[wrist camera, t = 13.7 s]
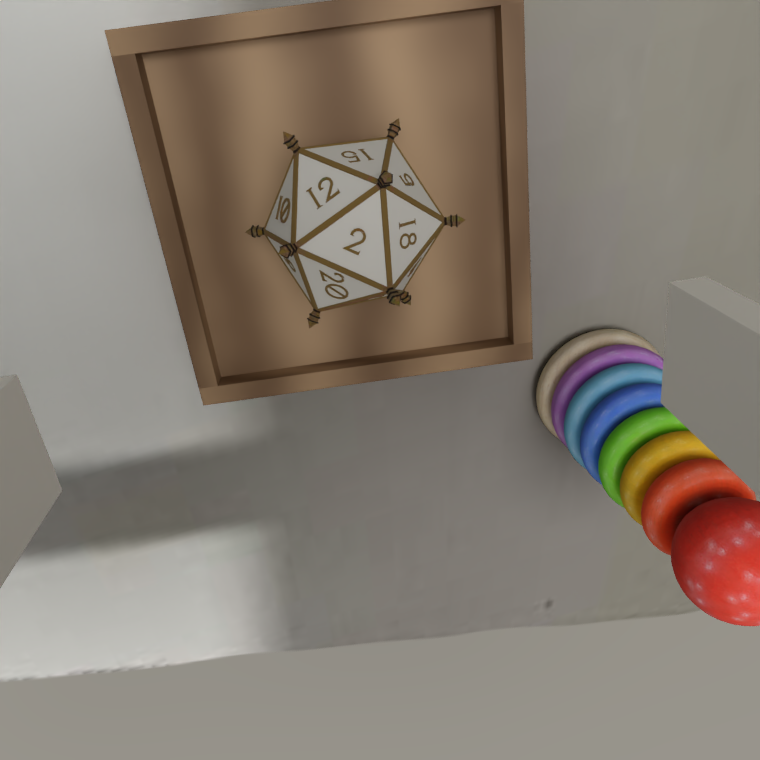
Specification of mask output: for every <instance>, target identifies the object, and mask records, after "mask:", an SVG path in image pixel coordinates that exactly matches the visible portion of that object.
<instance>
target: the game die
mask: <svg viewBox="0 0 760 760" xmlns="http://www.w3.org/2000/svg"><path fill="white" fill-rule="evenodd" d="M389 125H390V126H389V129H387V131H388V135H387V136H386V137H381V138H373V139H365V140H357V141H349V142H340V143H332V144H324V145H316V146H308V147H299V145H298V140H296V139H295V135H291V134H289V133H286V132H284V131H283V136H284V143H283V144H286V146H287V149H290V150H292V151H293V156H292V158H291V161H290V163H289V166H288V168H287V171H286V174H285V176H284V179H283V181H282V184H281V186H280V189H279V191H278V194H277V196H276V199H275V201H274V204H273V206H272V209H271V211H270V214H269V216H268V219H267V221H266V224H265V226H264V227H259V225H257V226H254V225H252V227H251V228H250V229H249V230H247V231H246V232H245V233H247V234H249V235H251V236H252V237H254V238H256V237H261V236H262V235H265V236H266V238H267V239H268V241H269V243H270V244H271V246H272V247H273V249H274V250H275V252H276V253H277V255H278V256H279V258H280V259H281V261H282V262H283V264H284V265H285V267H286V268H287V270H288V271H289V273H290V274H291V276H292V277H293V279H294V280H295V282H296V283H297V285H298V286H299V288H300V289H301V291H302V292H303V294H304V295H305V297H306V298H307V300H308V301H309V303H310V304H311V306H312V307H313V311H312V312H311V313H309V315H310V316H309V318H307V319H308V324H309V328H311V327H312V326H314V325H315V324H318V320H319V319H320V312H322V311H326V310H331V309H335V308H340V307H344V306H349V305H353V304H358V303H363V302H367V301H372V300H376V299H381V298H385V297H387V299H389V303H390V304H393V305H397V306H399V307H400V301H401V300H402V301H401V302H402V303H404V304H408V305H411V295H409V292H406V291H404V290H405V288H406V287H407V285H408V284H409V282H410V280H411V279H412V277H413V276H414V274H415V272H416V271H417V269H418V268H419V266H420V264H421V263H422V261H423V259H424V258H425V256H426V255H427V253H428V251H429V250H430V248H431V247H432V245H433V243H434V242H435V240H436V239H437V237H438V235H439V234H440V232H441V231H442V229H443V227H444V226H445V225H449V226H451V227H452V226H456V227H458V225H460V224H461V223H462V222H464V221H465V220H466V219H464V218H462V217H460V216H458V215H457V214H456V215H454V216H452V215H450V216H449V217H444V216H443V214H442V213H441V211H440V210H439V208H438V207H437V205H436V204H435V202H434V201H433V199H432V198H431V196H430V195H429V193H428V192H427V190H426V189H425V187H424V185H423V184H422V182H421V181H420V179H419V178H418V176H417V175H416V173H415V172H414V170H413V169H412V167H411V166H410V164H409V163H408V161H407V160H406V158H405V157H404V155H403V153H402V152H401V150H400V149H399V147H398V146H397V144H396V143H395V141H394V138H395V137H396V136H398V135H399V134H398V132H399V130H400V131H401V128H400V122H399V118H398V119H397V120H395V121H394V122H393V123H391V124H389Z"/></svg>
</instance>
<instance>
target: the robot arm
mask: <svg viewBox="0 0 760 760" xmlns="http://www.w3.org/2000/svg"><path fill="white" fill-rule="evenodd" d="M661 404H662V405H663V406H665V407H666V408H667V409H668V410H669V411H670V412H671V413H672V414H673V415H674V416H675V417H676V418H677V419H678V420H679V421H680V422H681V423H682V424H683V425H684V426H685V427H687V428H688V429H689V430H690V431H691V432H692V433H693V434H694V435H695V436H696V437H697V438H698V439H699V440H700V441H701V442H702V443H703V444H704V445H705V446H706V447H708V448H709V449H710V450H711V451H712V452H713V453H714V454H715V455H716V456H717V457H718V458H719V459H720V460H721V461H722V462H723V463H724V464H725V465H726V466H727V467H729V468H730V469H731V470H732V471H733V472H734V473H735V474H736V475H737V476H738V477H739V478H740V479H741V480H742V481H743V482H744V483H745V484H746V485H747V486H748V487H749V488H751V489H752V490H753V491H754V492H755V493H756V494H757V495H758V496H759V497H760V304H759V303H757V302H755V301H753V300H751V299H749V298H747V297H745V296H743V295H741V294H739V293H737V292H735V291H733V290H731V289H729V288H727V287H725V286H723V285H721V284H719V283H718V282H716V281H714V280H712V279H710V278H708V277H700V278H693V279H686V280H679V281H672V282H669V287H668V302H667V316H666V331H665V346H664V360H663V375H662V389H661ZM61 492H62V488H61V485H60V483H59V480H58V478H57V475H56V473H55V470H54V468H53V465H52V463H51V460H50V457H49V455H48V452H47V450H46V447H45V445H44V442H43V440H42V437H41V435H40V432H39V429H38V427H37V424H36V422H35V419H34V417H33V414H32V412H31V409H30V407H29V404H28V401H27V399H26V396H25V394H24V391H23V389H22V386H21V384H20V381H19V378H18V376H17V375H10V376H3V377H0V588H1V586H2V585H3V583H4V581H5V580H6V578H7V577H8V575H9V574H10V572H11V570H12V569H13V567H14V566H15V564H16V563H17V561H18V559H19V558H20V556H21V555H22V553H23V551H24V550H25V548H26V547H27V545H28V544H29V542H30V540H31V539H32V537H33V536H34V534H35V533H36V531H37V529H38V528H39V526H40V525H41V523H42V522H43V520H44V518H45V517H46V515H47V514H48V512H49V510H50V509H51V507H52V506H53V504H54V503H55V501H56V499H57V498H58V496H59V495H60V493H61Z"/></svg>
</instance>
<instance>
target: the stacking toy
mask: <svg viewBox="0 0 760 760" xmlns="http://www.w3.org/2000/svg"><path fill="white" fill-rule="evenodd" d="M663 360H664V359H663V358H662V357H660V355H659V353H658V352H657V351H656V349H655V348H654V347H653V346H652V345H651V344H650V343H649V342H648V341H646V340H645V339H643V338H642V337H640V336H639V335H636V334H634V333H632V332H628V331H625V330H619V329H601V330H596V331H591V332H588V333H585V334H582V335H580V336H578V337H576V338H574V339H572V340H570V341H569V342H567V343H566V344H565V345H563V346H562V347H561V348H560V349H559V350H558V351H557V352H556V353H555V354H554V355H553V356H552V357H551V358H550V359H549V361H548V362H547V364H546V365H545V367H544V369H543V371H542V373H541V376H540V378H539V381H538V386H537V392H536V401H537V408H538V412H539V415H540V418H541V420H542V422H543V423H544V425H545V426H546V427H547V429H548V430H549V431H550V432H551V433H552V434H553V435H554V436H556V437H557V438H558V439H560V440H561V441H562V443H563V444H564V445H565V446H566V447H567V448H568V449H569V451H570V453H571V455H572V456H573V457H574V459H575V460H576V461H577V462H578V463H579V464H580V465H581V466H583V467H584V468H585V469H587V471H588V472H589V473H590V474H591V476H592V477H593V478H594V479H595V480H596V481H597V482H599V483H600V484H602V485H603V487H604V489H605V491H606V492H607V494H608V495H609V496H610V497H611V498H612V499H613V500H614V501H615V502H616V503H617V504H619V505H620V506H622V507H624V508H625V509H626V511H627V512H628V513H629V515H630V516H631V517H632V518H633V519H634V520H635V521H636V522H638V523H639V524H640V525H642V526H643V529H644V531H645V533H646V535H647V537H648V538H649V540H650V541H651V542H652V543H653V545H654V546H656V547H657V548H658V549H659V550H661V551H662V552H664V553H666V554H668V555H671V562H672V566H673V570H674V574H675V576H676V579H677V581H678V583H679V585H680V587H681V588H682V590H683V592H684V593H685V594H686V596H687V597H688V598H689V599H690V600H691V601H692V602H693V603H694V604H695V605H696V606H697V607H699V608H700V609H701V610H702V611H704V612H705V613H707V614H708V615H710V616H712V617H714V618H716V619H719V620H721V621H724V622H727V623H730V624H734V625H741V626H759V625H760V502H759V501H756V496H755V492H754V491H753V490H752V489H751V488H749V487H748V486H747V485H746V484H745V483H744V482H743V481H742V480H741V479H740V478H739V477H738V476H737V475H736V474H735V473H734V472H733V471H732V470H731V469H730V468H729V467H727V466H726V465H725V464H724V463H723V462H722V461H721V460H720V459H719V458H718V457H717V456H716V455H715V454H714V453H713V452H712V451H711V450H710V449H709V448H708V447H706V446H705V445H704V444H703V443H702V442H701V441H700V440H699V439H698V438H697V437H696V436H695V435H694V434H693V433H692V432H691V431H690V430H689V429H688V428H687V427H685V426H684V425H683V424H682V423H681V422H680V421H679V420H678V419H677V418H676V417H675V416H674V415H673V414H672V413H671V412H670V411H669V410H668V409H667V408H666V407H665V406H663V405H662V404H661V389H662V375H663Z"/></svg>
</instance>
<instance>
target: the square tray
mask: <svg viewBox="0 0 760 760" xmlns="http://www.w3.org/2000/svg"><path fill="white" fill-rule="evenodd" d="M105 34H106V38H107V41H108V45H109V49H110V53H111V57H112V60H113V64H114V68H115V72H116V75H117V79H118V83H119V87H120V91H121V94H122V98H123V102H124V106H125V110H126V113H127V117H128V121H129V125H130V129H131V132H132V136H133V140H134V144H135V148H136V151H137V155H138V159H139V163H140V167H141V170H142V174H143V178H144V182H145V186H146V189H147V193H148V197H149V201H150V204H151V208H152V212H153V216H154V220H155V223H156V227H157V231H158V235H159V239H160V242H161V246H162V250H163V254H164V258H165V261H166V265H167V269H168V273H169V277H170V280H171V284H172V288H173V292H174V296H175V299H176V303H177V307H178V311H179V315H180V318H181V322H182V326H183V330H184V334H185V337H186V341H187V345H188V349H189V352H190V356H191V360H192V364H193V368H194V371H195V375H196V379H197V383H198V387H199V390H200V394H201V398H202V402H203V405H210V404H217V403H224V402H231V401H238V400H245V399H252V398H259V397H267V396H274V395H281V394H288V393H295V392H302V391H309V390H316V389H323V388H330V387H338V386H345V385H352V384H359V383H366V382H373V381H380V380H387V379H394V378H401V377H409V376H416V375H423V374H430V373H437V372H444V371H451V370H458V369H465V368H472V367H479V366H487V365H494V364H501V363H508V362H515V361H522V360H529V359H533V353H532V313H531V273H530V234H529V194H528V154H527V114H526V74H525V35H524V0H332V1H324V2H317V3H309V4H301V5H294V6H286V7H279V8H271V9H263V10H256V11H248V12H241V13H233V14H226V15H218V16H210V17H203V18H195V19H188V20H180V21H172V22H165V23H157V24H150V25H142V26H134V27H127V28H119V29H112V30H105ZM398 118H399V122H400V128H401V131H400V130H399V132H398V134H399V135H398V136H396V137H395V138H394V141H395V143H396V144H397V146H398V147H399V149H400V150H401V152H402V153H403V155H404V157H405V158H406V160H407V161H408V163H409V164H410V166H411V167H412V169H413V170H414V172H415V173H416V175H417V176H418V178H419V179H420V181H421V182H422V184H423V185H424V187H425V189H426V190H427V192H428V193H429V195H430V196H431V198H432V199H433V201H434V202H435V204H436V205H437V207H438V208H439V210H440V211H441V213H442V214H443V216H444V217H449V216H450V215H452V216H454V215H456V214H457V215H458V216H460V217H462V218H464V219H466V220H465V221H464V222H462V223H461V224H460V225H458V227H456V226H452V227H451V226H449V225H445V226H444V227H443V229H442V231H441V232H440V234H439V235H438V237H437V239H436V240H435V242H434V243H433V245H432V247H431V248H430V250H429V251H428V253H427V255H426V256H425V258H424V259H423V261H422V263H421V264H420V266H419V268H418V269H417V271H416V272H415V274H414V276H413V277H412V279H411V280H410V282H409V284H408V285H407V287H406V288H405V290H404V291H406V292H409V295H411V305H408V304H404V303H402V302H401V301H402V300H401V301H400V307H399V306H397V305H393V304H390V303H389V299H387V297H385V298H381V299H376V300H372V301H367V302H363V303H358V304H353V305H349V306H344V307H340V308H335V309H331V310H326V311H322V312H320V319H319V320H318V324H315V325H314V326H312V327H311V328H309V324H308V319H307V318H309V316H310V315H309V313H311V312H312V311H313V307H312V306H311V304H310V303H309V301H308V300H307V298H306V297H305V295H304V294H303V292H302V291H301V289H300V288H299V286H298V285H297V283H296V282H295V280H294V279H293V277H292V276H291V274H290V273H289V271H288V270H287V268H286V267H285V265H284V264H283V262H282V261H281V259H280V258H279V256H278V255H277V253H276V252H275V250H274V249H273V247H272V246H271V244H270V243H269V241H268V239H267V238H266V236H265V235H262V236H261V237H256V238H254V237H252V236H251V235H249V234H247V233H245V232H246V231H247V230H249V229H250V228H251V227H252V225H254V226H257V225H259V227H264V226H265V224H266V221H267V219H268V216H269V214H270V211H271V209H272V206H273V204H274V201H275V199H276V196H277V194H278V191H279V189H280V186H281V184H282V181H283V179H284V176H285V174H286V171H287V168H288V166H289V163H290V161H291V158H292V156H293V151H292V150H290V149H287V146H286V144H283V143H284V136H283V131H284V132H286V133H289V134H291V135H295V139H296V140H298V145H299V147H308V146H316V145H324V144H332V143H340V142H349V141H357V140H365V139H373V138H381V137H386V136H387V135H388V131H387V129H389V126H390V125H389V124H391V123H393V122H394V121H395V120H397V119H398Z"/></svg>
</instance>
